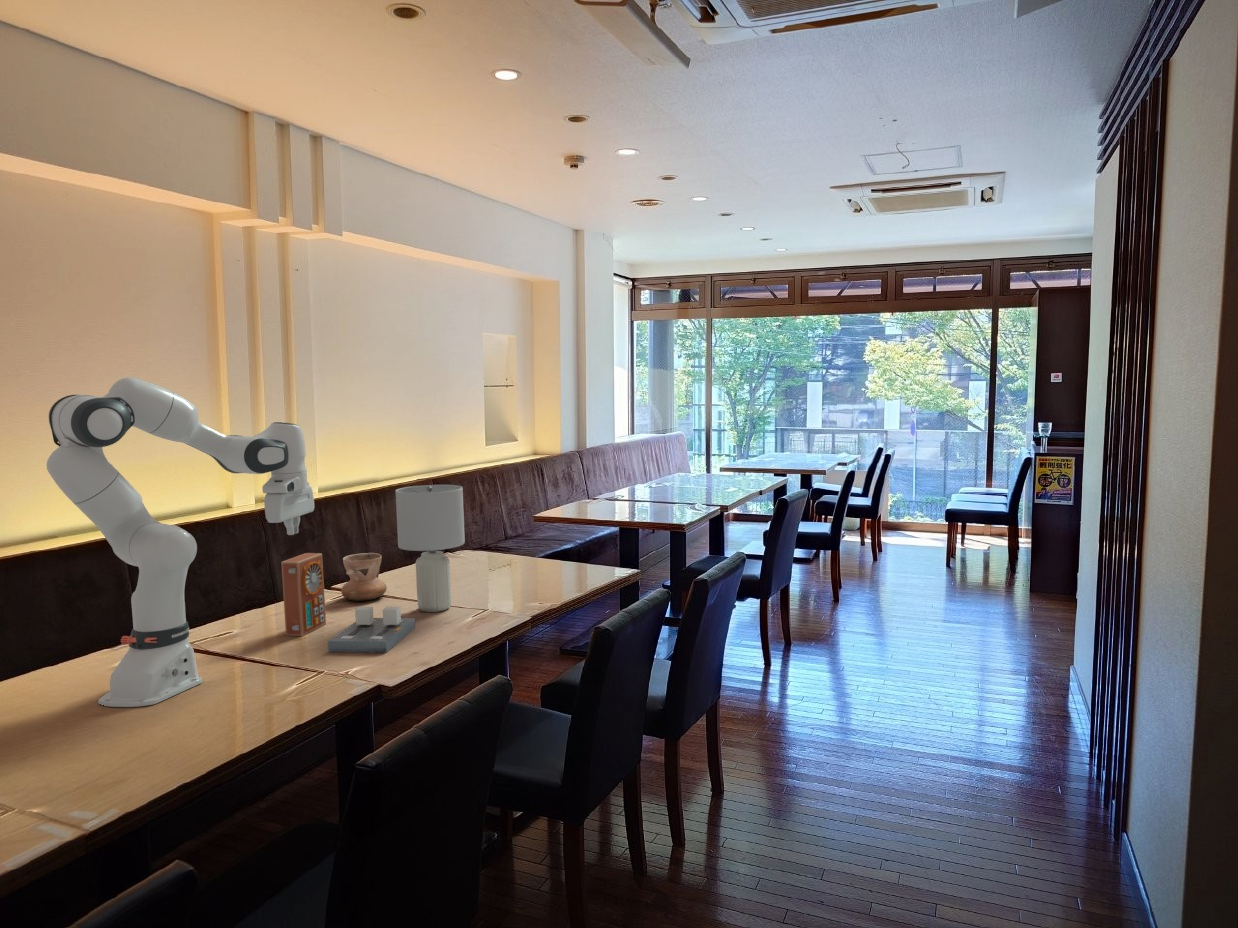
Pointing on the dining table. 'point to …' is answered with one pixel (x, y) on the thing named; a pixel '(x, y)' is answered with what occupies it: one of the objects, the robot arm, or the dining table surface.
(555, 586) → the dining table surface
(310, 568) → the control panel
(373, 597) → the ceramic jug
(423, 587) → the lamp
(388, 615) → the block
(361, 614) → the block
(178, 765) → the dining table surface
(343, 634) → the breaker box
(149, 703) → the robot arm
